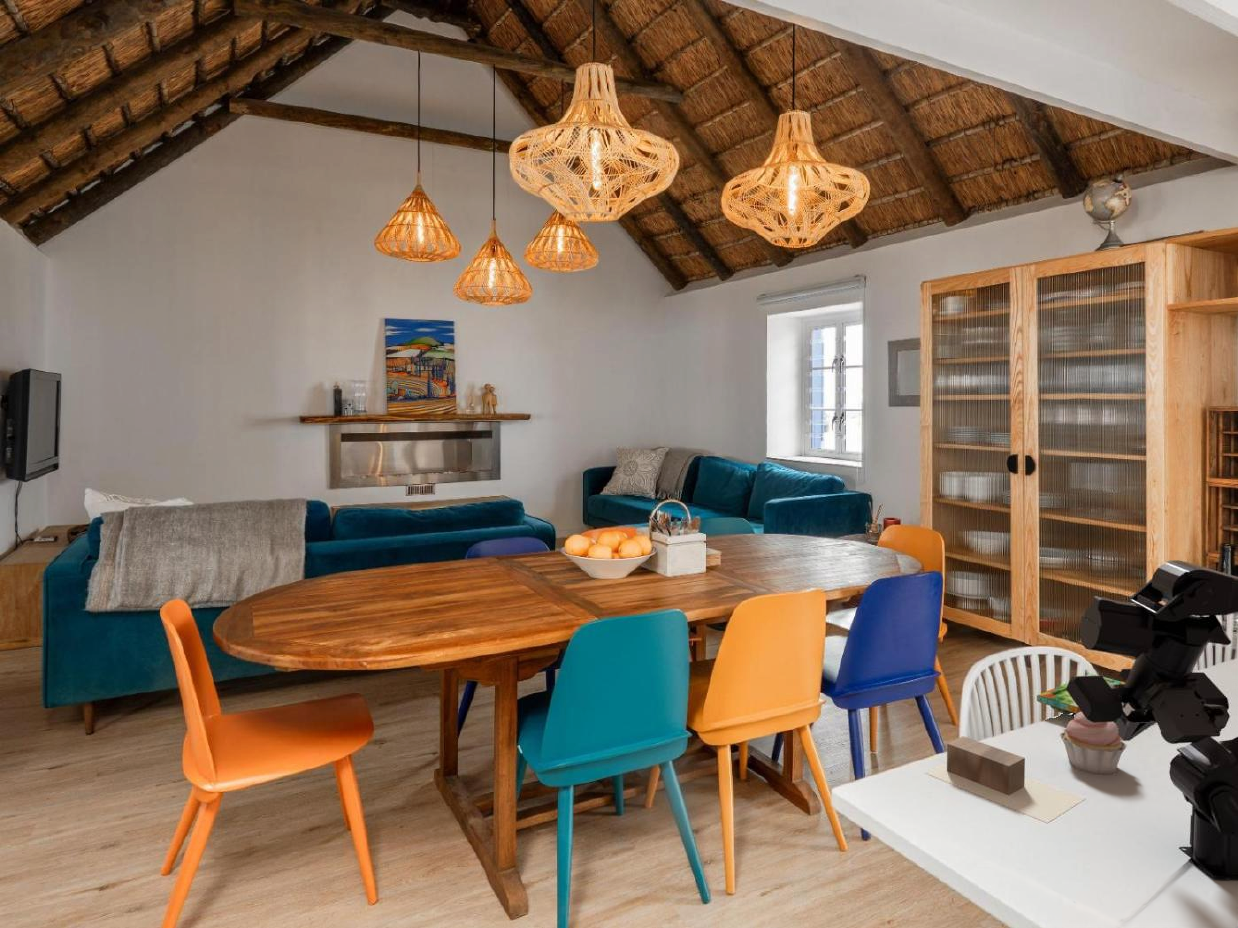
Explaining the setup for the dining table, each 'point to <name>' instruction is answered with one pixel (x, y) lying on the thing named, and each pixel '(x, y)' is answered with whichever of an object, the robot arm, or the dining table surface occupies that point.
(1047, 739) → the dining table surface
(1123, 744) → the cupcake
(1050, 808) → the beige mat
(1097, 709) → the robot arm
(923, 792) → the dining table surface
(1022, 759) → the walnut block
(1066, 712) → the puzzle game
